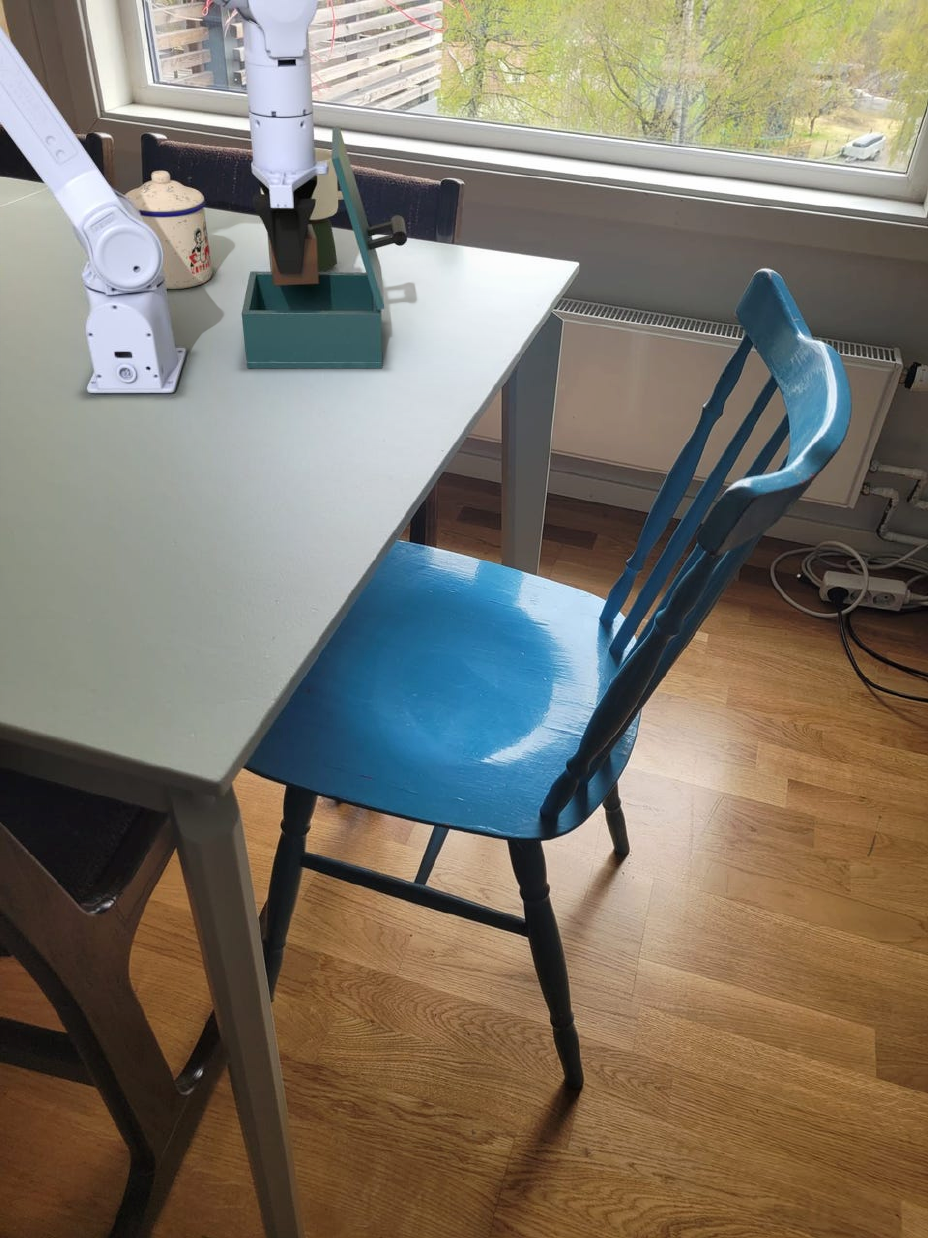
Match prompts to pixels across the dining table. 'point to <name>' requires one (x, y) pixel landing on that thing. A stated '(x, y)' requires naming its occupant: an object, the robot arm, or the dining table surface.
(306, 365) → the teal wooden box
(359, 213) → the lid
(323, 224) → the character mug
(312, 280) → the block
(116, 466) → the dining table surface
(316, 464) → the dining table surface
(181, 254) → the teacup with lid
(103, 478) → the dining table surface
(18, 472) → the dining table surface
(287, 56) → the robot arm
